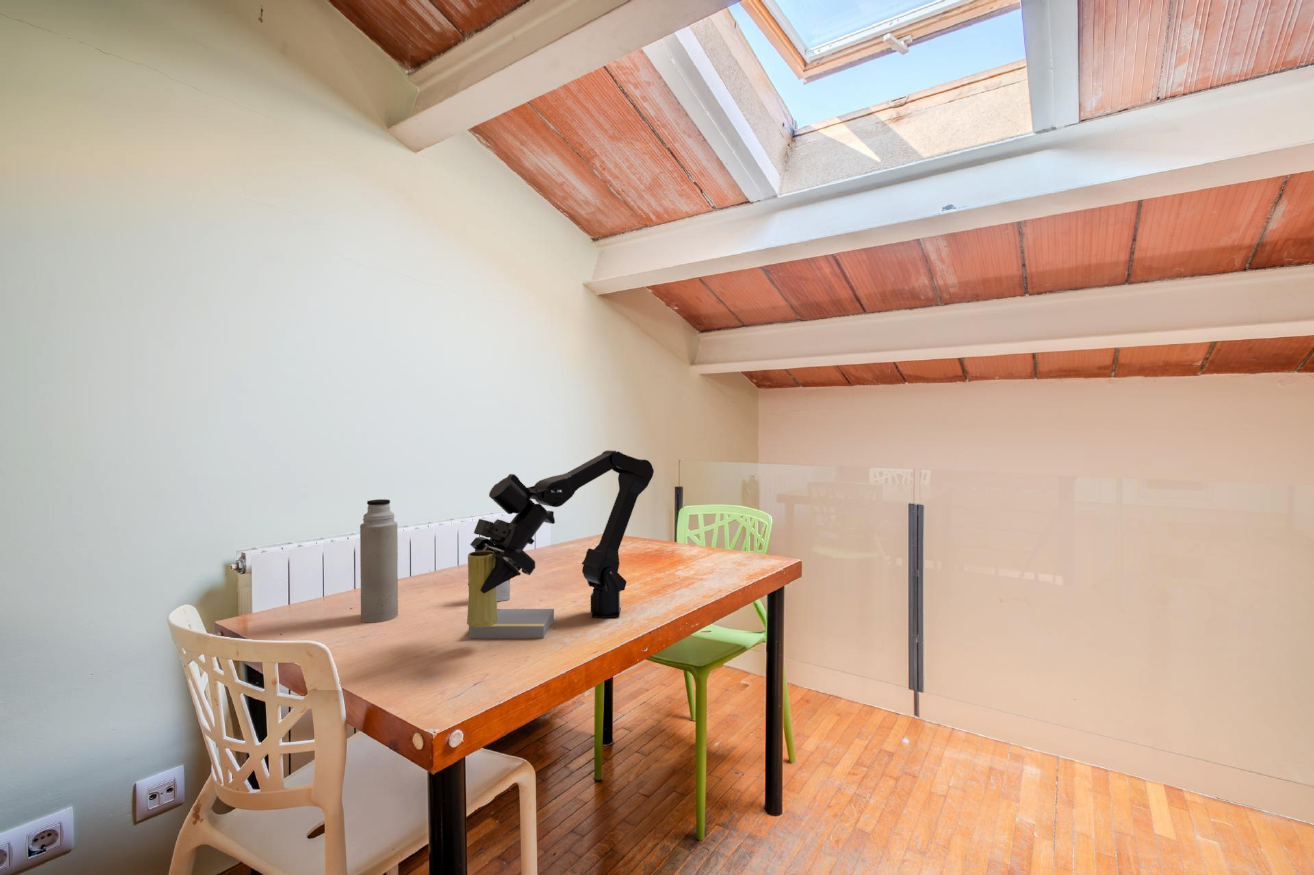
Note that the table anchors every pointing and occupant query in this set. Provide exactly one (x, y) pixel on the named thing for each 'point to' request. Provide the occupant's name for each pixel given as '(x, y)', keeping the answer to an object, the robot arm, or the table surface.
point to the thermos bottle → (379, 563)
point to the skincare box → (503, 591)
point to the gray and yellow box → (516, 624)
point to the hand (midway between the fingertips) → (475, 589)
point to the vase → (479, 603)
